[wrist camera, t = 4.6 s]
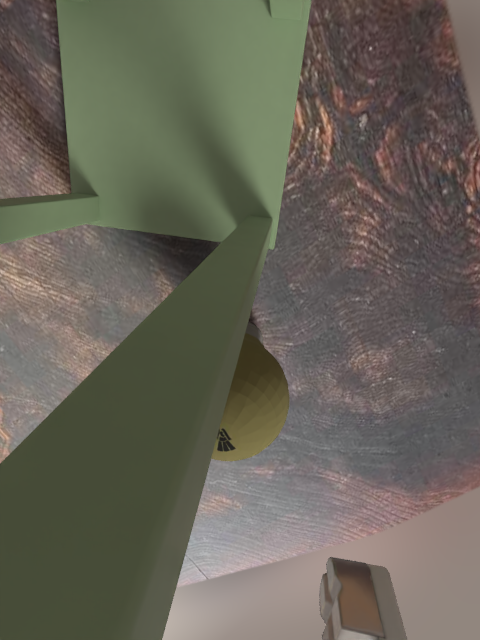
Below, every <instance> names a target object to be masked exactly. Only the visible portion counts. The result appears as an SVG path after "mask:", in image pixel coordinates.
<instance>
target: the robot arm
mask: <svg viewBox="0 0 480 640" xmlns="http://www.w3.org/2000/svg"><path fill="white" fill-rule="evenodd" d="M326 565H327V573H325V574H323V576H322V580H321V584H320V595H319V596H320V615H321V617H322V619H323V620H324V622H325V623H326V626H325V629H324V632H323V635H322V639H323V640H407V637H406V633H405V630H404V626H403V622H402V618H401V615H400V611H399V607H398V604H397V600H396V596H395V593H394V589H393V585H392V582H391V578H390V574H389V572H388V570H387V569H386V568H385V567H382V566H376V565H370V564H366V563H362V562H356V561H350V560H344V559H338V558H333V557H330V558H329V559H328V561H327V564H326Z"/></svg>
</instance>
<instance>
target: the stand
mask: <svg viewBox="0 0 480 640" xmlns="http://www.w3.org/2000/svg"><path fill="white" fill-rule="evenodd" d="M56 7H57V20H58V32H59V44H60V57H61V69H62V81H63V94H64V106H65V118H66V131H67V143H68V156H69V168H70V180H71V194H58V195H45V196H33V197H20V198H7V199H0V244H3V243H8V242H12V241H16V240H20V239H25V238H29V237H33V236H37V235H41V234H46V233H50V232H54V231H58V230H63V229H67V228H71V227H75V226H80V225H84V224H90V225H97V226H105V227H112V228H119V229H127V230H134V231H141V232H149V233H156V234H164V235H171V236H178V237H186V238H193V239H201V240H208V241H215V242H222V243H221V244H220V245H219V246H218V247H217V248H216V249H215V250H214V251H213V252H212V253H211V254H210V255H209V256H208V257H207V258H206V259H205V260H204V261H203V262H202V263H201V264H200V265H199V266H198V267H197V268H196V269H195V270H194V271H193V272H192V273H191V274H190V275H189V276H188V277H187V278H186V279H185V280H184V281H183V282H182V283H181V284H180V285H179V286H178V287H177V288H176V289H175V290H174V291H173V292H172V293H171V294H170V295H169V296H168V297H167V298H166V299H165V300H164V301H163V302H162V303H161V304H160V305H159V306H158V307H157V308H156V309H155V310H154V311H153V312H152V313H151V314H150V315H149V316H148V317H147V318H146V319H145V320H144V321H143V322H142V323H141V324H140V325H139V326H138V327H137V328H136V329H135V330H134V331H133V332H132V333H131V334H130V335H129V336H128V337H127V338H126V339H125V340H124V341H123V342H122V343H121V344H120V345H119V346H118V347H117V348H116V349H115V350H114V351H113V352H112V353H111V354H110V355H109V356H108V357H107V358H106V359H105V360H104V361H103V362H102V363H101V364H100V365H99V366H98V367H97V368H96V369H95V370H94V371H93V372H92V373H91V374H90V375H89V376H88V377H87V378H86V379H85V380H84V381H83V382H82V383H81V384H80V385H79V386H78V387H77V388H76V389H75V390H74V391H73V392H72V393H71V394H70V395H69V396H68V397H67V398H66V399H65V400H64V401H63V402H62V403H61V404H60V405H59V406H58V407H57V408H56V409H55V410H54V411H53V412H52V413H51V414H50V415H49V416H48V417H47V418H46V419H45V420H44V421H43V422H42V423H41V424H40V425H39V426H38V427H37V428H36V429H35V430H34V431H33V432H32V433H31V434H30V435H29V436H28V437H27V438H26V439H25V440H24V441H23V442H22V443H21V444H20V445H19V446H18V447H17V448H16V449H15V450H14V451H13V452H12V453H11V454H10V455H9V456H8V457H7V458H6V459H5V460H4V461H3V462H2V463H1V464H0V640H162V638H163V634H164V630H165V626H166V623H167V619H168V615H169V611H170V608H171V604H172V601H173V596H174V593H175V590H176V586H177V582H178V579H179V575H180V571H181V568H182V564H183V560H184V557H185V553H186V549H187V545H188V542H189V538H190V534H191V531H192V527H193V523H194V520H195V516H196V512H197V509H198V505H199V501H200V498H201V494H202V490H203V487H204V483H205V479H206V475H207V472H208V468H209V464H210V461H211V457H212V453H213V450H214V446H215V442H216V439H217V435H218V431H219V428H220V424H221V420H222V417H223V413H224V409H225V406H226V402H227V398H228V394H229V391H230V387H231V383H232V380H233V376H234V372H235V369H236V365H237V361H238V358H239V354H240V350H241V347H242V343H243V339H244V336H245V332H246V328H247V324H248V321H249V317H250V313H251V310H252V306H253V302H254V299H255V295H256V291H257V288H258V284H259V280H260V277H261V273H262V269H263V266H264V262H265V258H266V255H267V251H268V249H274V247H275V241H276V235H277V228H278V221H279V214H280V208H281V201H282V194H283V188H284V181H285V174H286V168H287V161H288V154H289V147H290V141H291V134H292V127H293V121H294V114H295V107H296V101H297V94H298V87H299V80H300V74H301V67H302V60H303V54H304V47H305V40H306V34H307V27H308V20H309V13H310V7H311V0H56Z"/></svg>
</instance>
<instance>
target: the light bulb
mask: <svg viewBox="0 0 480 640" xmlns="http://www.w3.org/2000/svg"><path fill="white" fill-rule="evenodd" d="M288 409H289V390H288V383H287V380H286V377H285V375H284V372H283V370H282V368H281V366H280V365H279V363H278V362H277V360H276V359H275V358H274V357H273V356H272V355H271V354H270V353H269V352H268V351H267V350H266V349H265V348H264V346H263V336H262V333H261V331H260V330H259V328H258V327H257V326H255V325H254V324H252V323H249V322H248V324H247V328H246V332H245V336H244V339H243V343H242V347H241V350H240V354H239V358H238V361H237V365H236V369H235V372H234V376H233V380H232V383H231V387H230V391H229V394H228V398H227V402H226V406H225V409H224V413H223V417H222V420H221V424H220V428H219V431H218V435H217V439H216V442H215V446H214V450H213V453H212V457H211V458H212V459H215V460H221V461H236V460H242V459H246V458H249V457H252V456H254V455H256V454H258V453H260V452H261V451H262V450H264V449H265V448H266V447H267V446H269V445H270V444H271V443H272V442H273V441H274V440H275V438H276V437H277V436H278V434H279V433H280V431H281V429H282V427H283V425H284V423H285V421H286V417H287V413H288Z"/></svg>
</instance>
